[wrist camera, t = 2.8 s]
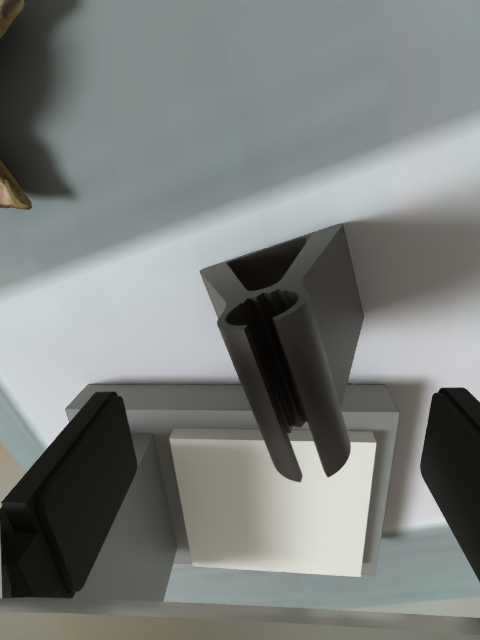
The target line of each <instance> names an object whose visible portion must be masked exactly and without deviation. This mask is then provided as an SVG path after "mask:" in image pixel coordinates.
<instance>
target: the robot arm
mask: <svg viewBox="0 0 480 640" xmlns="http://www.w3.org/2000/svg"><path fill="white" fill-rule="evenodd" d="M420 469H421V474H422V477H423V479H424V481H425V483H426V484H427V486H428V488H429V490H430V492H431V494H432V495H433V497H434V499H435V501H436V503H437V505H438V506H439V508H440V510H441V512H442V514H443V516H444V517H445V519H446V521H447V523H448V525H449V527H450V528H451V530H452V532H453V534H454V536H455V538H456V539H457V541H458V543H459V545H460V547H461V548H462V550H463V552H464V554H465V556H466V558H467V559H468V561H469V563H470V565H471V567H472V569H473V570H474V572H475V574H476V576H477V578H478V580H479V581H480V402H479V401H478V400H477V399H476V398H475V397H474V396H473V395H472V394H471V393H470V392H469V391H468V390H466V389H465V388H441V389H440V390H439V391H438V393H434V394H433V396H432V401H431V407H430V412H429V418H428V424H427V429H426V435H425V441H424V447H423V452H422V458H421V464H420ZM136 471H137V459H136V454H135V450H134V445H133V441H132V436H131V432H130V428H129V423H128V419H127V414H126V410H125V405H124V401H123V398H122V397H121V396H118V394H117V393H116V392H114V391H110V392H95V393H94V394H93V395H92V397H91V398H90V399H89V400H88V401H87V402H86V404H85V405H84V406H83V407H82V408H81V410H80V411H79V412H78V413H77V414H76V415H75V417H74V418H73V419H72V420H71V421H70V422H69V424H68V425H67V426H66V427H65V428H64V429H63V431H62V432H61V433H60V434H59V435H58V436H57V438H56V439H55V440H54V441H53V442H52V444H51V445H50V446H49V447H48V448H47V449H46V451H45V452H44V453H43V454H42V455H41V456H40V458H39V459H38V460H37V461H36V462H35V463H34V465H33V466H32V467H31V468H30V469H29V470H28V472H27V473H26V474H25V475H24V476H23V478H22V479H21V480H20V481H19V482H18V483H17V485H16V486H15V487H14V488H13V489H12V490H11V492H10V493H9V494H8V495H7V496H6V497H5V499H4V500H3V501H2V502H1V503H2V505H3V506H2V507H1V509H0V640H480V618H471V617H452V616H434V615H417V614H399V613H381V612H363V611H345V610H326V609H306V608H286V607H266V606H245V605H225V604H204V603H181V602H158V601H135V600H112V599H83V598H73V596H74V594H75V592H79V591H80V590H81V589H82V588H83V586H84V585H85V583H86V580H87V578H88V576H89V574H90V572H91V570H92V567H93V565H94V563H95V561H96V559H97V557H98V555H99V552H100V550H101V548H102V546H103V544H104V542H105V539H106V537H107V535H108V533H109V531H110V529H111V526H112V524H113V522H114V520H115V518H116V516H117V513H118V511H119V509H120V507H121V505H122V503H123V500H124V498H125V496H126V494H127V492H128V490H129V488H130V485H131V483H132V481H133V479H134V477H135V474H136Z"/></svg>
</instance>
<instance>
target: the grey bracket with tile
mask: <svg viewBox="0 0 480 640" xmlns="http://www.w3.org/2000/svg"><path fill="white" fill-rule="evenodd" d="M110 391H114V392H116V393H117V394H118V396H121V397H122V398H123V401H124V405H125V410H126V414H127V419H128V423H129V428H130V432H131V436H132V441H133V445H134V450H135V454H136V459H137V471H136V474H135V477H134V479H133V481H132V483H131V485H130V488H129V490H128V492H127V494H126V496H125V498H124V500H123V503H122V505H121V507H120V509H119V511H118V513H117V516H116V518H115V520H114V522H113V524H112V526H111V529H110V531H109V533H108V535H107V537H106V539H105V542H104V544H103V546H102V548H101V550H100V552H99V555H98V557H97V559H96V561H95V563H94V565H93V567H92V570H91V572H90V574H89V576H88V578H87V580H86V583H85V585H84V586H83V588H82V589H81V590H80V591H79V592H75V594H74V596H73V598H83V599H112V600H135V601H158V602H163V600H164V596H165V592H166V588H167V585H168V581H169V577H170V573H171V569H172V566H173V563H176V564H192V565H193V566H198V567H214V568H229V569H245V570H260V571H276V572H291V573H307V574H323V575H338V576H354V577H360V576H361V575H365V576H376V569H377V562H378V555H379V549H380V542H381V535H382V528H383V521H384V515H385V508H386V501H387V494H388V487H389V481H390V474H391V467H392V460H393V453H394V447H395V440H396V433H397V426H398V419H399V410H398V409H397V407H396V405H395V403H394V401H393V399H392V398H391V396H390V394H389V392H388V390H387V388H386V387H385V385H347V386H346V390H345V394H344V398H343V402H342V407H341V411H342V415H343V418H344V422H345V425H346V429H347V432H348V436H349V439H350V443H351V451H350V455H349V458H348V460H347V462H346V463H345V465H344V466H343V467H342V468H341V469H340V470H339V471H338V472H337V473H335V474H334V475H332V476H330V477H327V476H326V474H325V473H324V470H323V467H322V464H321V461H320V458H319V455H318V452H317V449H316V446H315V443H314V440H313V437H312V434H311V431H310V428H309V425H308V422H305V424H304V425H303V426H302V427H301V428H300V427H294V426H293V427H292V431H291V433H287V434H288V437H289V440H290V442H291V445H292V448H293V451H294V453H295V456H296V459H297V461H298V464H299V467H300V470H301V472H302V475H303V476H302V480H301V482H295V481H292V480H289V479H287V478H285V477H284V476H282V475H281V474H280V473H279V472H278V471H277V470H276V468H275V467H274V464H273V462H272V459H271V457H270V454H269V452H268V449H267V447H266V444H265V442H264V439H263V437H262V434H261V432H260V429H259V427H258V424H257V422H256V419H255V417H254V414H253V412H252V409H251V407H250V404H249V402H248V399H247V397H246V394H245V392H244V389H243V387H242V385H87V386H86V387H85V388H84V389H83V390H82V391H81V392H80V393H79V395H78V396H77V397H76V398H75V399H74V400H73V401H72V402H71V403H70V404H69V405H68V406H67V407H66V409H65V411H66V414H67V417H68V420H69V422H70V421H71V420H72V419H73V418H74V417H75V415H76V414H77V413H78V412H79V411H80V410H81V408H82V407H83V406H84V405H85V404H86V402H87V401H88V400H89V399H90V398H91V397H92V395H93V394H94V393H95V392H110Z"/></svg>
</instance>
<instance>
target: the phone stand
mask: <svg viewBox="0 0 480 640" xmlns="http://www.w3.org/2000/svg"><path fill="white" fill-rule="evenodd" d="M200 274H201V276H202V279H203V281H204V284H205V286H206V289H207V291H208V294H209V296H210V299H211V301H212V304H213V306H214V309H215V311H216V314H217V317H218V321H217V325H218V327H219V330H220V332H221V335H222V337H223V340H224V342H225V345H226V347H227V350H228V352H229V355H230V357H231V360H232V362H233V365H234V367H235V370H236V372H237V375H238V377H239V380H240V382H241V384H242V387H243V389H244V392H245V394H246V397H247V399H248V402H249V404H250V407H251V409H252V412H253V414H254V417H255V419H256V422H257V424H258V427H259V429H260V432H261V434H262V437H263V439H264V442H265V444H266V447H267V449H268V452H269V454H270V457H271V459H272V462H273V464H274V467H275V468H276V470H277V471H278V472H279V473H280V474H281V475H282V476H284V477H285V478H287V479H289V480H292V481H295V482H301V480H302V476H303V475H302V472H301V470H300V467H299V464H298V461H297V459H296V456H295V453H294V451H293V448H292V445H291V442H290V440H289V437H288V434H287V433H291V431H292V427H293V426H294V427H300V428H301V427H302V426H303V425H304V424H305V422H308V425H309V428H310V431H311V434H312V437H313V440H314V443H315V446H316V449H317V452H318V455H319V458H320V461H321V464H322V467H323V470H324V473H325V474H326V476H327V477H330V476H332V475H334V474H335V473H337V472H338V471H339V470H340V469H341V468H342V467H343V466H344V465H345V463H346V462H347V460H348V458H349V455H350V451H351V443H350V439H349V436H348V432H347V429H346V425H345V422H344V418H343V415H342V411H341V407H342V402H343V398H344V394H345V390H346V386H347V382H348V378H349V374H350V370H351V366H352V362H353V358H354V354H355V350H356V346H357V342H358V338H359V334H360V330H361V326H362V322H363V318H364V315H363V310H362V306H361V302H360V297H359V293H358V288H357V284H356V280H355V275H354V271H353V267H352V262H351V258H350V254H349V249H348V245H347V241H346V236H345V232H344V228H343V224H337V225H334V226H331V227H328V228H325V229H322V230H319V231H316V232H313V233H310V234H307V235H304V236H301V237H298V238H295V239H292V240H289V241H286V242H283V243H280V244H277V245H274V246H271V247H269V248H266V249H262V250H259V251H256V252H253V253H250V254H247V255H244V256H241V257H238V258H235V259H232V260H228V261H225V262H222V263H219V264H216V265H213V266H210V267H207V268H204V269H202V270H200Z"/></svg>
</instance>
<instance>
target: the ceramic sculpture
mask: <svg viewBox="0 0 480 640" xmlns="http://www.w3.org/2000/svg"><path fill="white" fill-rule="evenodd" d="M23 8H24V0H0V39H1V37H2V36H3V35H4V34H5V33H6V31H7V30H8V28H9V26H10V25H11V23H12V21H13V20H14V19H15V18H16V17H17V16H18V15H19V13H20V12H21V11H22V9H23ZM10 207H12V208H17V209H27V210H29V209H31V208H32V206H31V202H30V200H29V199H28V197H27V196H26V195H25V193H24V192H23V191H22V190H21V188H20V187H19V185H18V184H17V182H16V180H15V179H14V177H13V176H12V175H11V173H10V172H9V171H8V169H7V168H6V167H5V165H4V164H3V163H2V161H1V160H0V208H10Z"/></svg>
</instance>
